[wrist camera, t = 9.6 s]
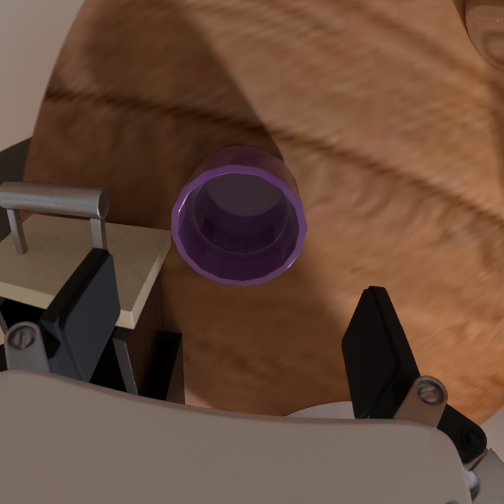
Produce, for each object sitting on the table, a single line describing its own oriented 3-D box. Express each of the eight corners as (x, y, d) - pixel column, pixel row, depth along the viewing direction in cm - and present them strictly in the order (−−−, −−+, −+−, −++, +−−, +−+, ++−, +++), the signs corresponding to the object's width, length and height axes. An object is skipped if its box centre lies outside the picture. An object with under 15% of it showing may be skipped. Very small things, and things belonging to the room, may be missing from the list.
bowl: (187, 237, 22) (170, 276, 18) (192, 137, 18) (173, 158, 14) (286, 250, 22) (291, 292, 18) (306, 153, 18) (319, 177, 14)
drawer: (25, 156, 18) (-51, 202, 11) (173, 162, 18) (121, 221, 11) (65, 334, 27) (32, 396, 20) (174, 358, 27) (156, 433, 21)
